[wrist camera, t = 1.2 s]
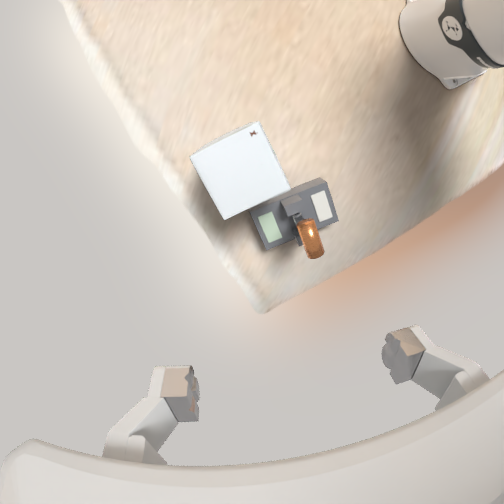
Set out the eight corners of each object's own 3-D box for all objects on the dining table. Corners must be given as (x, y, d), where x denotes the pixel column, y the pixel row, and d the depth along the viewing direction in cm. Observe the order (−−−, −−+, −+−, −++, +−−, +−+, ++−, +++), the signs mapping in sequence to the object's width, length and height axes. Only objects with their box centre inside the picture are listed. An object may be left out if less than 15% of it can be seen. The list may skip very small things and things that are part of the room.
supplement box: (201, 145, 35) (186, 154, 23) (251, 121, 34) (261, 118, 22) (225, 192, 38) (222, 222, 26) (274, 169, 37) (293, 190, 25)
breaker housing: (319, 177, 38) (333, 186, 32) (331, 214, 40) (345, 228, 35) (248, 206, 39) (251, 219, 34) (264, 241, 41) (268, 259, 36)
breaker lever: (299, 202, 35) (316, 222, 28) (309, 229, 37) (326, 254, 30) (285, 208, 35) (298, 229, 28) (295, 234, 37) (310, 261, 30)
